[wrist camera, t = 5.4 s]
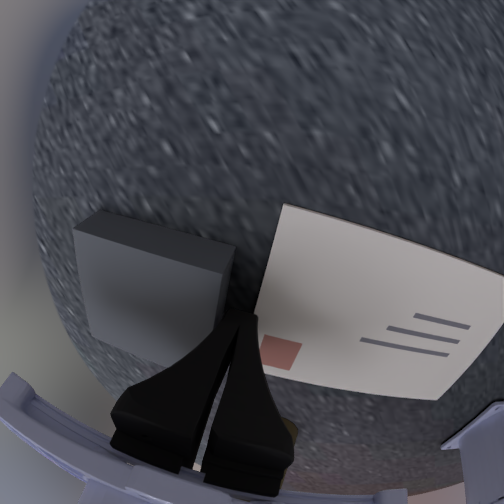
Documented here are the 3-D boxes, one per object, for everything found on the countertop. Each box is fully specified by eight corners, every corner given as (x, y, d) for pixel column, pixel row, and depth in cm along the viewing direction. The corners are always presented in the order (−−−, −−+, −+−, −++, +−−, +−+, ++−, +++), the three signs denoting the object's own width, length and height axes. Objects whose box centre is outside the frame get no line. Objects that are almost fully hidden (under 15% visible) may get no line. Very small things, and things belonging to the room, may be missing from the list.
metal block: (237, 243, 13) (222, 274, 11) (217, 347, 16) (204, 380, 14) (103, 207, 13) (72, 228, 11) (112, 310, 17) (92, 336, 15)
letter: (525, 284, 10) (527, 286, 10) (436, 397, 16) (436, 400, 15) (283, 202, 11) (283, 204, 11) (239, 364, 16) (238, 366, 16)
